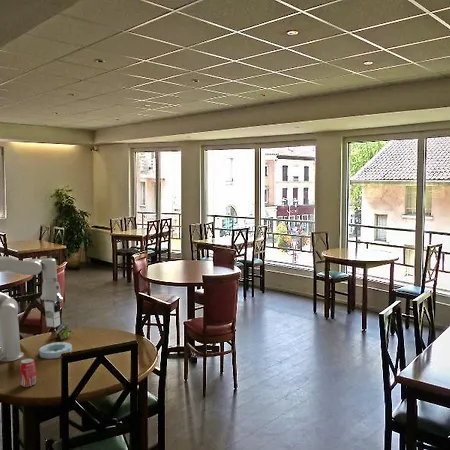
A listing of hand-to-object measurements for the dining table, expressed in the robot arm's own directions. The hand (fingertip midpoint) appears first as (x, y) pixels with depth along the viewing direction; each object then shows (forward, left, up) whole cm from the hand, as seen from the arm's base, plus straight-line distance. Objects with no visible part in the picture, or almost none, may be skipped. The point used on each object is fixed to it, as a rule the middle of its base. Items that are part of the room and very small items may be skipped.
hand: (52, 311), depth 271 cm
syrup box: (0, 0, -9) cm, 9 cm away
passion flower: (+20, +13, -24) cm, 34 cm away
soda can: (-39, -21, -24) cm, 50 cm away
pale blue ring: (-2, -2, -23) cm, 24 cm away
